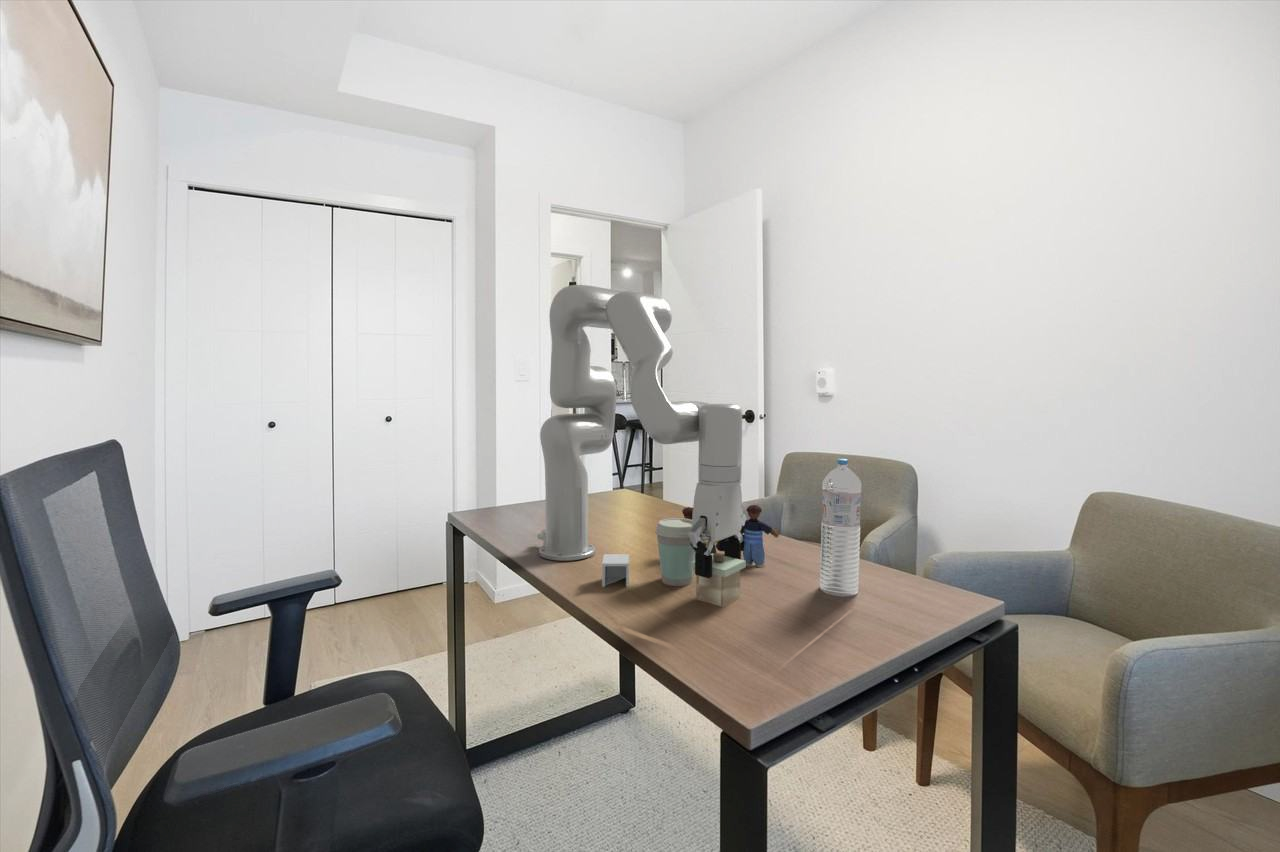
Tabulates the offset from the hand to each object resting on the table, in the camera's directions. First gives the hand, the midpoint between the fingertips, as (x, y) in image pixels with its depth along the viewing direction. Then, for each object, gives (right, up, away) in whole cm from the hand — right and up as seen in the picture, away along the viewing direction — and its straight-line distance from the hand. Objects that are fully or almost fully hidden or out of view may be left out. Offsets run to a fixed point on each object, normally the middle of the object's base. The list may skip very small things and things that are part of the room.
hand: (718, 569), depth 106 cm
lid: (0, 0, 0) cm, 0 cm away
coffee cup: (-7, -5, +10) cm, 13 cm away
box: (0, -6, 0) cm, 6 cm away
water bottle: (+23, -6, +5) cm, 24 cm away
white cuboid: (-19, -5, +9) cm, 21 cm away
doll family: (+4, -4, +24) cm, 25 cm away
